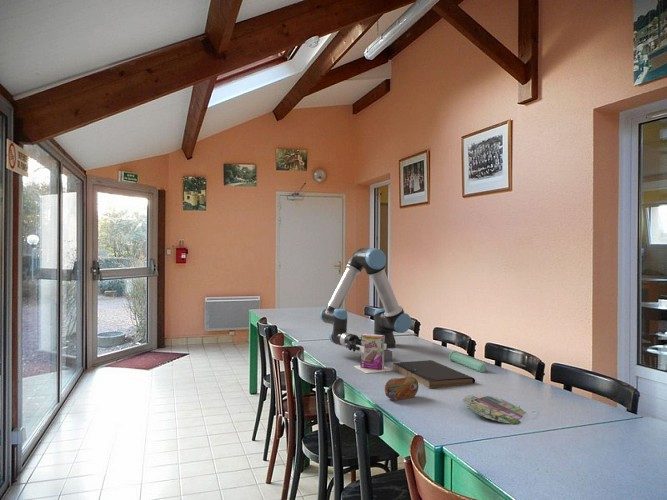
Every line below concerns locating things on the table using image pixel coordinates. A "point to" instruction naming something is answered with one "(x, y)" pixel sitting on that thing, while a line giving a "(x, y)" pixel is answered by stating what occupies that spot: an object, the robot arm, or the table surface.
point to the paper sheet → (368, 370)
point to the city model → (494, 408)
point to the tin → (401, 388)
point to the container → (467, 361)
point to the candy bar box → (372, 351)
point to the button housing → (387, 355)
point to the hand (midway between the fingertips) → (375, 348)
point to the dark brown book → (432, 374)
